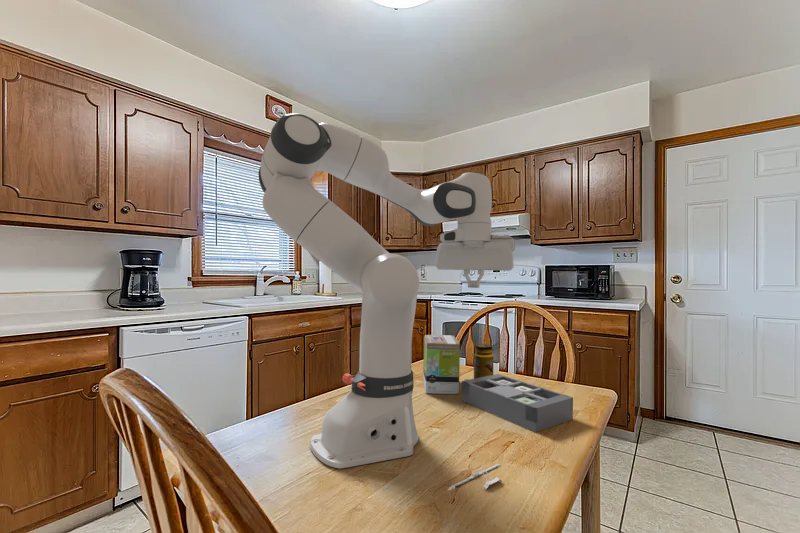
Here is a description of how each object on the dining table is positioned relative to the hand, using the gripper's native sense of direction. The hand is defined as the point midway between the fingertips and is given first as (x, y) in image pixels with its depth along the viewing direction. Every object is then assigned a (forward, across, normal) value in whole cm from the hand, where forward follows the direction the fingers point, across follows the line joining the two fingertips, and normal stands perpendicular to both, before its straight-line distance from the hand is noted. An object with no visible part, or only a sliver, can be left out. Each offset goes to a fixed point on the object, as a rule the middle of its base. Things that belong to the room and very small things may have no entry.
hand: (473, 287), depth 104 cm
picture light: (+32, -8, +36) cm, 49 cm away
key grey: (+28, -8, -7) cm, 30 cm away
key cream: (+28, -13, -3) cm, 31 cm away
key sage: (+28, -14, +6) cm, 32 cm away
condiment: (+31, 0, -20) cm, 38 cm away
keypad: (+31, -11, 0) cm, 33 cm away
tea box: (+31, +12, -13) cm, 36 cm away
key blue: (+29, -18, +1) cm, 34 cm away
